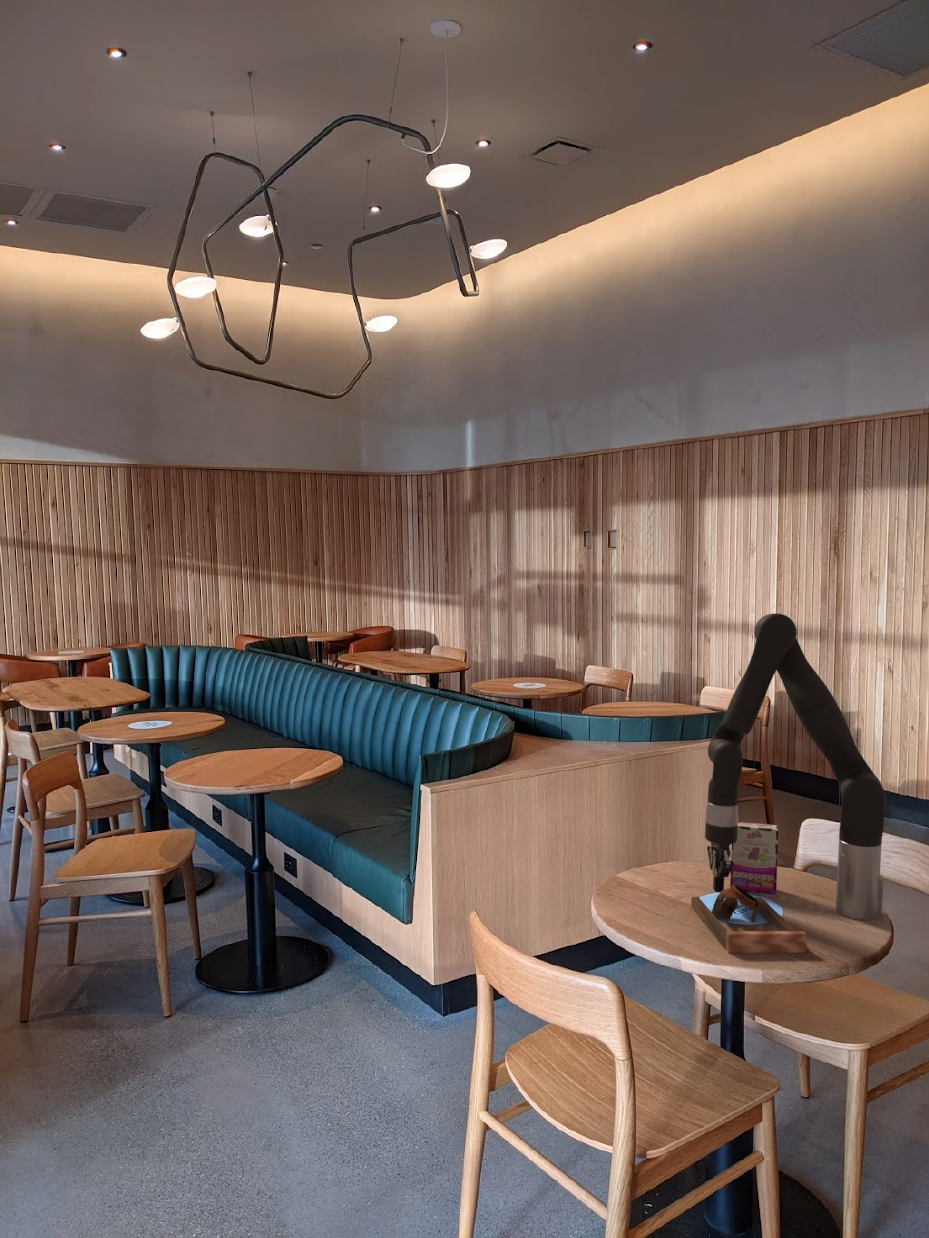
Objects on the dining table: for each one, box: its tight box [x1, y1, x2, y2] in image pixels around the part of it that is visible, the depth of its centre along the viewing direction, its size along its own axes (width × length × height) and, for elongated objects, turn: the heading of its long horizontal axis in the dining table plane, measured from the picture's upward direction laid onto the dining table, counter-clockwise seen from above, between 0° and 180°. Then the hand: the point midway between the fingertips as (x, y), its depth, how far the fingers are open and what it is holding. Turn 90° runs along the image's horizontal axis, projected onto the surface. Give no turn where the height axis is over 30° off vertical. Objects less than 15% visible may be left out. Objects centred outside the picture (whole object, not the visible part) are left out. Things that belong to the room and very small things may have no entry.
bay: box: [690, 896, 807, 954], centre depth 211 cm, size 17×26×4 cm, turn 3°
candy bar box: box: [729, 821, 779, 895], centre depth 236 cm, size 11×5×16 cm, turn 73°
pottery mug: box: [711, 885, 759, 922], centre depth 217 cm, size 12×10×8 cm
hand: (718, 890), depth 229 cm, fingers closed
